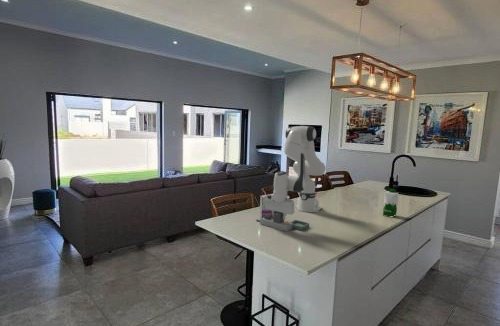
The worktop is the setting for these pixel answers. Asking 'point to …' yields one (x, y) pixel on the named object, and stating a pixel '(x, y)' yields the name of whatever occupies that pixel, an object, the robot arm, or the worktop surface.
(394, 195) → the milk carton
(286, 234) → the worktop surface
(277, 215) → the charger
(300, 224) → the felt tray
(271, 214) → the candy bar box
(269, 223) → the power strip
